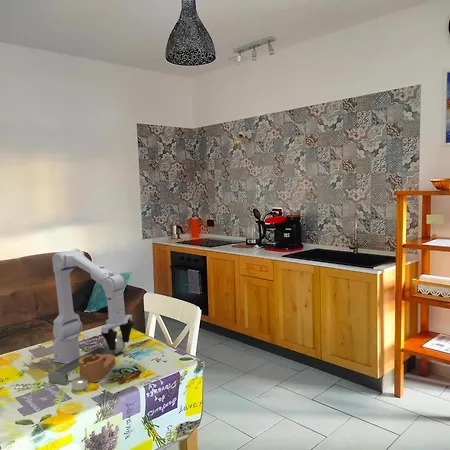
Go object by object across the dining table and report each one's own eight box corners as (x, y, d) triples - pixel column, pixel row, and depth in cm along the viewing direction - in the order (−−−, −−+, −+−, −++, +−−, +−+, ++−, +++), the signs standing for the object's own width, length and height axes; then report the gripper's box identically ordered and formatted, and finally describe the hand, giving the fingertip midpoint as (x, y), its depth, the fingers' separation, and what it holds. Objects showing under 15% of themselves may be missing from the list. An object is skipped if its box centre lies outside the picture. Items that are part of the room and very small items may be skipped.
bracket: (98, 383, 140) (97, 363, 139) (76, 383, 141) (74, 363, 140) (118, 361, 158) (117, 343, 157) (98, 361, 159) (96, 344, 158)
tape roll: (69, 391, 135) (68, 382, 135) (79, 384, 140) (79, 375, 139) (80, 393, 133) (79, 384, 133) (91, 386, 138) (90, 377, 137)
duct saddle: (48, 382, 143) (47, 363, 142) (106, 349, 170) (105, 334, 170) (70, 386, 139) (68, 367, 138) (125, 352, 166) (124, 336, 166)
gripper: (112, 315, 137) (115, 354, 138) (137, 303, 150) (140, 339, 151) (95, 314, 139) (98, 352, 141) (122, 302, 153) (124, 337, 154)
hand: (119, 345), depth 146 cm, fingers open, 7 cm apart
